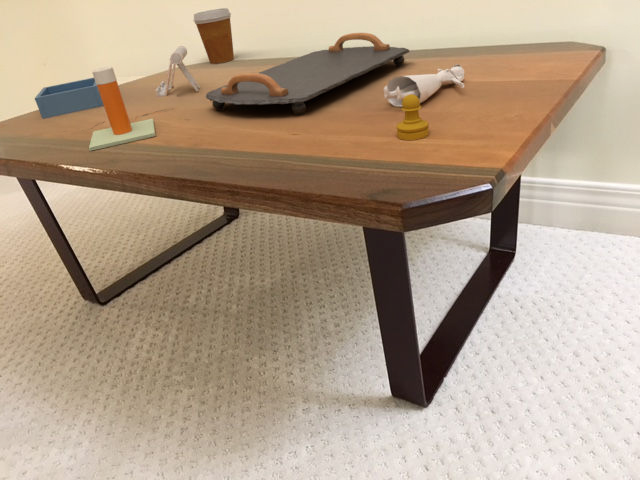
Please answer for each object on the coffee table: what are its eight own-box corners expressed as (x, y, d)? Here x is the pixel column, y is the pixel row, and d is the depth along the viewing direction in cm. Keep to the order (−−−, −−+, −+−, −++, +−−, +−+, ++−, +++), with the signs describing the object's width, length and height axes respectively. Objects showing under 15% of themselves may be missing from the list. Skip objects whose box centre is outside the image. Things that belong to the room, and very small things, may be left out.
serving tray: (325, 61, 118) (321, 31, 115) (421, 60, 105) (419, 26, 102) (193, 115, 92) (183, 79, 90) (297, 123, 79) (289, 80, 76)
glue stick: (112, 136, 86) (91, 72, 81) (113, 131, 88) (92, 69, 84) (132, 132, 86) (112, 68, 82) (132, 127, 89) (112, 65, 84)
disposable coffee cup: (197, 67, 137) (185, 16, 131) (212, 59, 145) (201, 11, 139) (232, 63, 134) (221, 11, 129) (245, 55, 142) (235, 6, 137)
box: (44, 122, 105) (34, 98, 103) (52, 110, 115) (43, 87, 113) (104, 109, 108) (96, 85, 105) (107, 98, 118) (100, 76, 115)
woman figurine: (359, 77, 79) (430, 57, 90) (361, 108, 81) (430, 84, 92) (426, 81, 71) (495, 58, 82) (426, 115, 73) (493, 88, 84)
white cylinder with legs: (164, 91, 115) (153, 50, 111) (201, 85, 115) (191, 44, 111) (158, 101, 107) (145, 57, 103) (197, 94, 108) (186, 50, 104)
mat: (90, 151, 82) (88, 147, 82) (94, 134, 91) (93, 131, 91) (155, 136, 84) (154, 132, 84) (153, 121, 93) (153, 118, 93)
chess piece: (410, 127, 70) (408, 89, 67) (435, 131, 67) (433, 91, 64) (390, 137, 67) (387, 97, 65) (415, 141, 65) (412, 100, 62)
